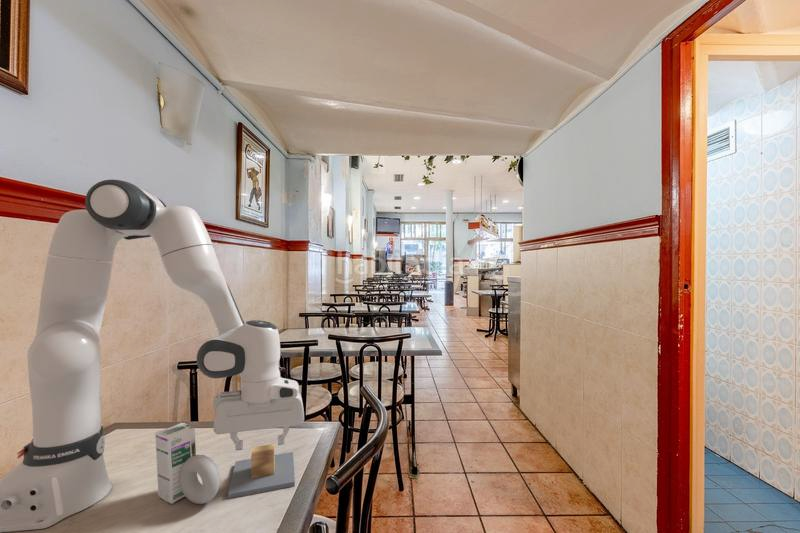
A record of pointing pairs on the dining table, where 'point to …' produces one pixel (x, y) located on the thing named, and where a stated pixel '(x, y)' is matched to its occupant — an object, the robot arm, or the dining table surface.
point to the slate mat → (248, 485)
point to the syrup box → (173, 459)
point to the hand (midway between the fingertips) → (260, 446)
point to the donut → (192, 484)
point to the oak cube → (262, 461)
